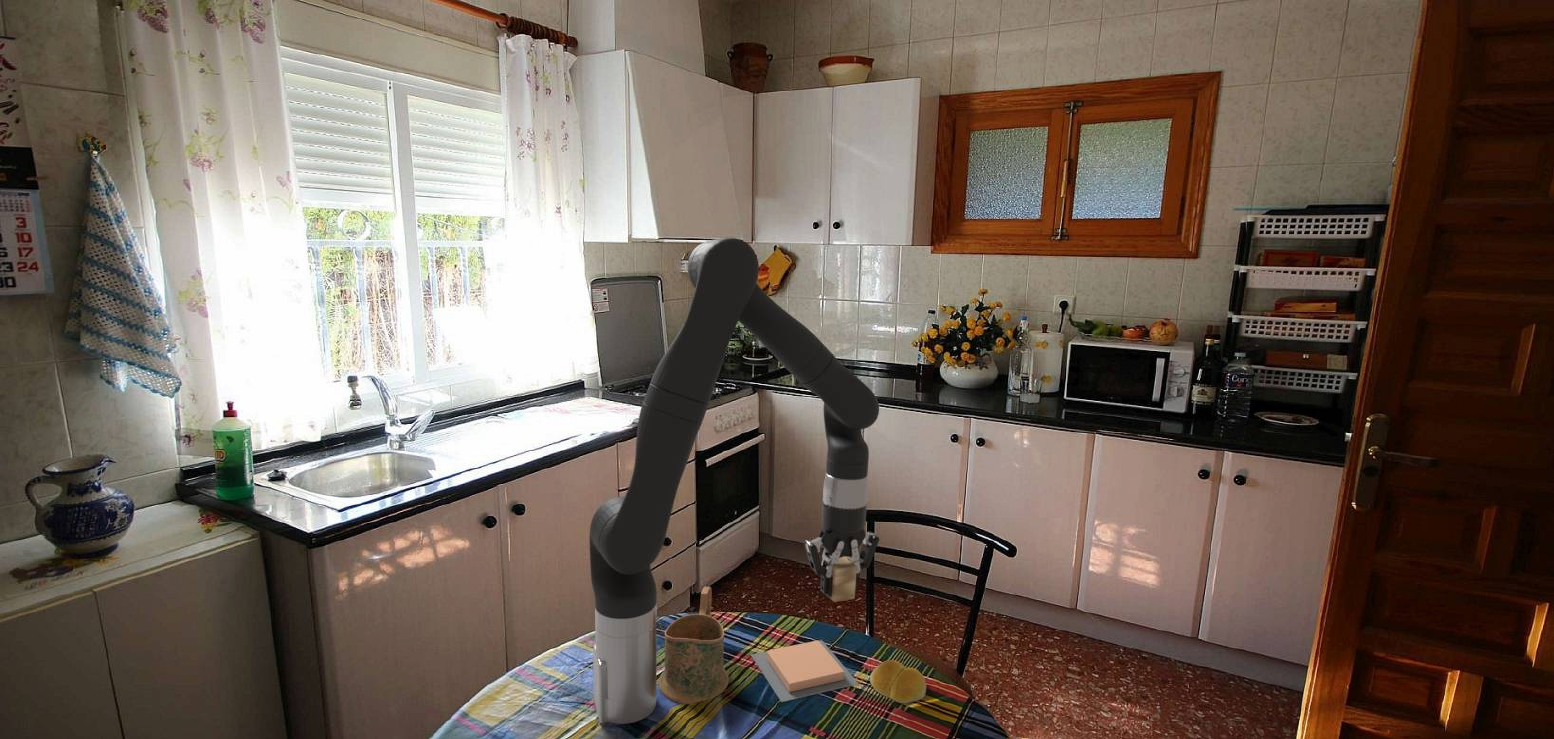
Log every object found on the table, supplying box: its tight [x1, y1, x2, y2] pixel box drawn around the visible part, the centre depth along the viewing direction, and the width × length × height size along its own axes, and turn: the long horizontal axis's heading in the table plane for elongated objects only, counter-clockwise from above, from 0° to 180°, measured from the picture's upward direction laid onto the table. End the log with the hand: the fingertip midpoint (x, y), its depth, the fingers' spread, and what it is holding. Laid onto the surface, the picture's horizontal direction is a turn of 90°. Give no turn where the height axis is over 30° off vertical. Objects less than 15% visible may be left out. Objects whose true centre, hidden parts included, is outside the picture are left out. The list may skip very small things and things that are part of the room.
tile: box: [766, 640, 844, 692], centre depth 122 cm, size 10×2×10 cm
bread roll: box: [869, 659, 927, 704], centre depth 118 cm, size 8×9×4 cm
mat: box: [750, 639, 859, 703], centre depth 122 cm, size 14×14×1 cm
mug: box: [658, 586, 730, 705], centre depth 120 cm, size 12×18×12 cm, turn 174°
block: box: [828, 556, 857, 603], centre depth 123 cm, size 4×4×6 cm
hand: (838, 592), depth 124 cm, fingers closed on block, 4 cm apart
